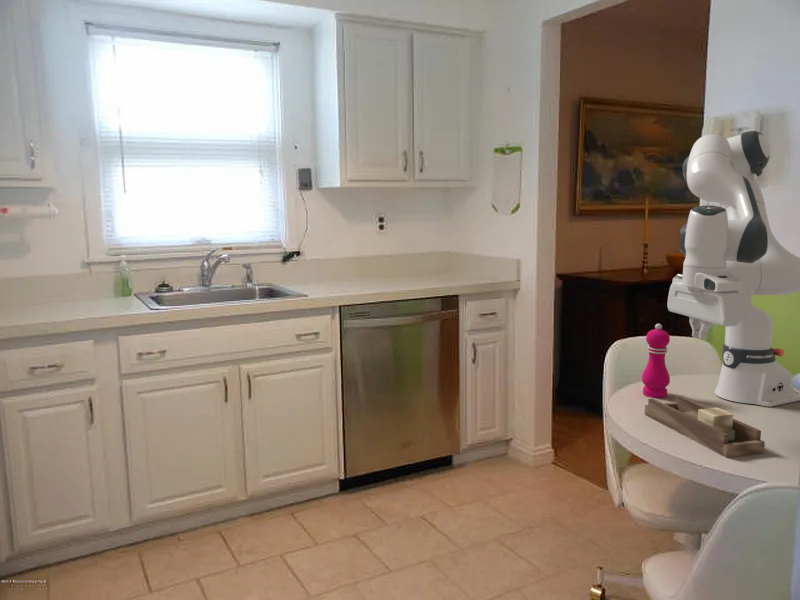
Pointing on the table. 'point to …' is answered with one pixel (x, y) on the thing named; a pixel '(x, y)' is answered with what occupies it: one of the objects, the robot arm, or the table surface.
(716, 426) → the maple block
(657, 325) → the pepper mill
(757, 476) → the table surface
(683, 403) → the tray
